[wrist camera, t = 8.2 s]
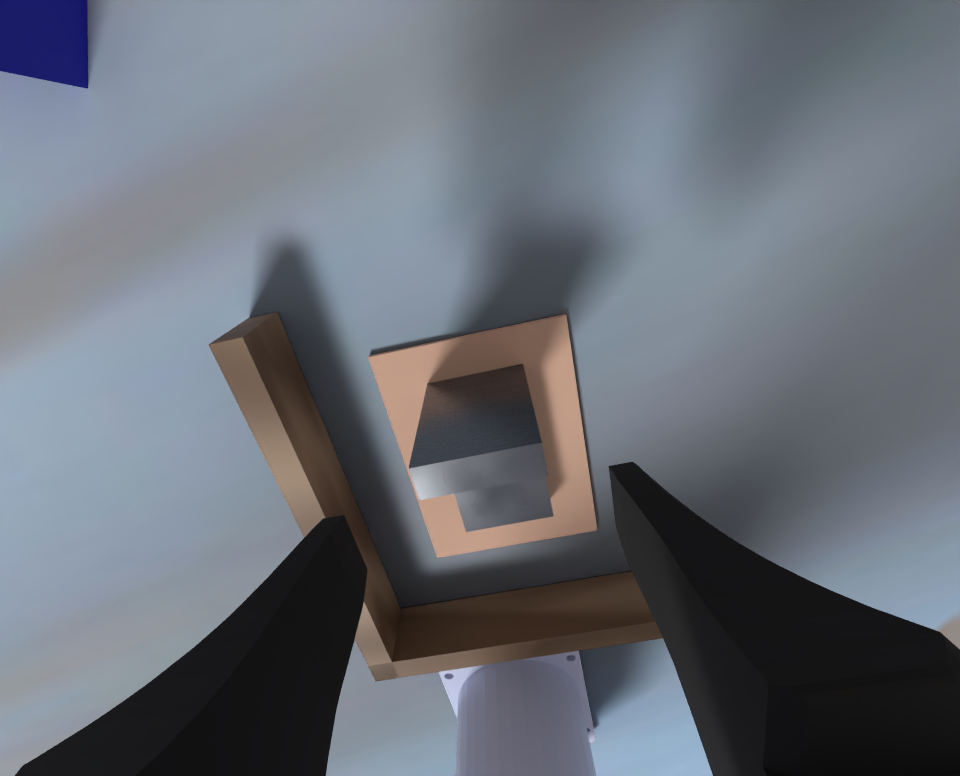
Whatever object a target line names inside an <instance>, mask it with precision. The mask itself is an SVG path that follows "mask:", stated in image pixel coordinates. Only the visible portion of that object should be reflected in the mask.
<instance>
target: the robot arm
mask: <svg viewBox="0 0 960 776" xmlns="http://www.w3.org/2000/svg"><path fill="white" fill-rule="evenodd" d="M609 472H610V480H611V488H612V496H613V505H614V513H615V521H616V528H617V531H618V534H619V537H620V540H621V543H622V546H623V549H624V552H625V555H626V558H627V561H628V563H629V566H630V568H631V570H632V572H633V574H634V577H635V579H636V581H637V583H638V585H639V587H640V590H641V592H642V594H643V596H644V598H645V600H646V603H647V605H648V607H649V609H650V611H651V613H652V615H653V618H654V620H655V622H656V624H657V626H658V628H659V631H660V633H661V635H662V637H663V639H664V641H665V643H666V646H667V648H668V651H669V653H670V655H671V658H672V660H673V663H674V665H675V668H676V671H677V674H678V677H679V679H680V682H681V685H682V688H683V690H684V693H685V696H686V699H687V702H688V704H689V707H690V710H691V713H692V716H693V719H694V722H695V724H696V727H697V730H698V733H699V736H700V739H701V742H702V745H703V747H704V750H705V753H706V756H707V759H708V762H709V765H710V768H711V771H712V774H713V776H960V649H958V648H957V647H956V646H955V645H954V644H953V643H952V642H950V641H949V640H948V639H947V638H946V637H945V636H944V635H943V634H942V633H940V632H938V631H935V630H933V629H930V628H927V627H924V626H922V625H919V624H916V623H913V622H910V621H908V620H905V619H902V618H899V617H897V616H894V615H891V614H888V613H885V612H883V611H880V610H877V609H874V608H872V607H869V606H867V605H864V604H862V603H859V602H857V601H855V600H852V599H850V598H847V597H845V596H843V595H840V594H838V593H835V592H833V591H831V590H829V589H826V588H824V587H822V586H820V585H818V584H815V583H813V582H811V581H809V580H807V579H805V578H803V577H801V576H799V575H797V574H795V573H793V572H791V571H789V570H787V569H785V568H782V567H780V566H778V565H776V564H775V563H773V562H771V561H769V560H767V559H765V558H763V557H762V556H760V555H758V554H756V553H755V552H753V551H751V550H750V549H748V548H746V547H744V546H743V545H741V544H739V543H738V542H736V541H735V540H733V539H731V538H730V537H728V536H727V535H725V534H724V533H722V532H721V531H719V530H718V529H716V528H715V527H713V526H712V525H711V524H709V523H708V522H706V521H705V520H703V519H702V518H701V517H699V516H698V515H697V514H695V513H694V512H693V511H691V510H690V509H689V508H687V507H686V506H685V505H684V504H682V503H681V502H680V501H678V500H677V499H676V498H675V497H673V496H672V495H671V494H670V493H668V492H667V491H666V490H665V489H664V488H662V487H661V486H660V485H659V484H658V483H657V482H655V481H654V480H653V479H652V478H651V477H650V476H649V475H648V474H646V473H645V472H644V471H643V470H642V469H641V468H640V467H639V466H638V465H636V464H635V463H633V462H629V463H623V464H618V465H612V466H609ZM367 571H368V569H367V567H366V564H365V562H364V560H363V557H362V555H361V553H360V550H359V548H358V546H357V544H356V541H355V539H354V537H353V534H352V532H351V530H350V527H349V525H348V523H347V520H346V518H345V516H344V515H340V516H334V517H329V518H323V519H322V520H321V521H320V522H319V523H318V524H317V525H316V526H315V527H314V528H313V529H312V530H311V531H310V532H309V533H308V534H307V535H306V537H305V538H304V539H303V540H302V541H301V542H300V543H299V544H298V545H297V546H296V547H295V549H294V550H293V551H292V552H291V553H290V554H289V555H288V556H287V557H286V558H285V560H284V561H283V562H282V563H281V564H280V565H279V566H278V567H277V568H276V569H275V570H274V571H273V573H272V574H271V575H270V576H269V577H268V578H267V579H266V580H265V581H264V582H263V583H262V584H261V585H260V586H259V587H258V588H257V589H256V590H255V591H254V592H253V593H252V594H251V595H250V596H249V597H248V598H247V599H246V600H245V601H244V602H243V603H242V604H241V605H240V606H239V607H238V608H237V609H236V610H235V611H234V612H233V613H232V614H231V615H230V616H229V617H228V618H227V619H226V620H225V621H223V622H222V623H221V624H220V625H219V626H218V627H217V628H216V629H215V630H213V631H212V632H211V633H210V634H209V635H208V636H207V637H205V638H204V639H203V640H202V641H201V642H200V643H199V644H197V645H196V646H195V647H194V648H193V649H191V650H190V651H189V652H188V653H186V654H185V655H184V656H183V657H181V658H180V659H179V660H178V661H176V662H175V663H174V664H172V665H171V666H170V667H169V668H167V669H166V670H165V671H164V672H162V673H161V674H160V675H158V676H157V677H156V678H155V679H153V680H152V681H151V682H149V683H148V684H147V685H145V686H144V687H143V688H141V689H140V690H138V691H137V692H136V693H134V694H133V695H132V696H130V697H129V698H127V699H126V700H125V701H123V702H122V703H120V704H119V705H117V706H116V707H114V708H113V709H111V710H110V711H109V712H107V713H106V714H104V715H103V716H101V717H100V718H98V719H97V720H95V721H94V722H92V723H91V724H89V725H88V726H86V727H85V728H83V729H81V730H80V731H78V732H77V733H75V734H73V735H72V736H70V737H69V738H67V739H65V740H64V741H62V742H61V743H59V744H57V745H56V746H54V747H53V748H51V749H49V750H48V751H46V752H45V753H43V754H41V755H40V756H38V757H37V758H35V759H33V760H32V761H30V762H28V763H27V764H25V765H23V766H22V767H21V768H20V770H19V771H18V772H17V774H16V775H15V776H326V769H327V762H328V755H329V749H330V743H331V738H332V732H333V726H334V720H335V714H336V709H337V705H338V700H339V696H340V691H341V688H342V684H343V680H344V677H345V673H346V669H347V665H348V662H349V658H350V654H351V651H352V647H353V643H354V639H355V636H356V632H357V628H358V624H359V620H360V616H361V612H362V608H363V603H364V596H365V589H366V580H367ZM439 674H440V677H441V679H442V682H443V684H444V687H445V689H446V692H447V694H448V697H449V699H450V702H451V704H452V707H453V709H454V712H455V714H456V717H457V739H456V769H455V776H596V772H595V767H594V762H593V757H592V752H591V747H590V743H592V742H594V740H595V733H594V728H593V723H592V717H591V712H590V707H589V702H588V697H587V692H586V686H585V681H584V676H583V671H582V666H581V661H580V655H579V651H574V652H567V653H561V654H554V655H547V656H541V657H534V658H527V659H521V660H514V661H508V662H501V663H494V664H488V665H481V666H474V667H468V668H461V669H454V670H448V671H441V672H439Z"/></svg>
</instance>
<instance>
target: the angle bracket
mask: <svg viewBox="0 0 960 776" xmlns="http://www.w3.org/2000/svg"><path fill="white" fill-rule="evenodd" d="M408 469H409V472H410V475H411V477H412V480H413V483H414V486H415V489H416V492H417V495H418V497H419V500H424V499H429V498H434V497H440V496H445V495H450V494H455V498H456V501H457V504H458V507H459V511H460V514H461V517H462V521H463V524H464V527H465V530H466V532H470V531H475V530H481V529H486V528H492V527H497V526H503V525H509V524H514V523H520V522H525V521H531V520H536V519H542V518H548V517H553V516H554V515H553V510H552V505H551V500H550V495H549V490H548V485H547V480H546V476H548V471H547V466H546V461H545V455H544V450H543V445H542V441H541V436H540V432H539V428H538V424H537V420H536V416H535V412H534V407H533V403H532V399H531V395H530V391H529V387H528V383H527V378H526V374H525V370H524V366H523V364H519V365H514V366H509V367H504V368H499V369H495V370H490V371H485V372H480V373H476V374H471V375H466V376H461V377H456V378H452V379H447V380H442V381H437V382H432V383H428V384H427V387H426V392H425V396H424V401H423V405H422V410H421V414H420V419H419V423H418V428H417V432H416V437H415V441H414V446H413V450H412V455H411V459H410V464H409V468H408Z"/></svg>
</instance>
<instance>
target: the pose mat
mask: <svg viewBox="0 0 960 776" xmlns="http://www.w3.org/2000/svg"><path fill="white" fill-rule="evenodd" d="M368 358H369V361H370V364H371V367H372V370H373V373H374V376H375V378H376V381H377V384H378V387H379V390H380V393H381V396H382V399H383V402H384V404H385V407H386V410H387V413H388V416H389V419H390V422H391V425H392V428H393V431H394V433H395V436H396V439H397V442H398V445H399V448H400V451H401V454H402V457H403V460H404V462H405V465H406V468H407V471H408V474H409V477H410V480H411V483H412V486H413V489H414V491H415V494H416V497H417V500H418V503H419V506H420V509H421V512H422V515H423V518H424V520H425V523H426V526H427V529H428V532H429V535H430V538H431V541H432V544H433V547H434V549H435V552H436V555H437V558H440V557H445V556H451V555H457V554H463V553H469V552H475V551H480V550H486V549H492V548H498V547H504V546H509V545H515V544H521V543H527V542H533V541H539V540H544V539H550V538H556V537H562V536H568V535H573V534H579V533H585V532H591V531H597V524H596V517H595V511H594V504H593V497H592V490H591V483H590V476H589V469H588V462H587V455H586V448H585V441H584V434H583V427H582V420H581V413H580V406H579V399H578V392H577V385H576V378H575V372H574V365H573V358H572V351H571V344H570V337H569V330H568V323H567V316H566V314H563V315H558V316H553V317H549V318H544V319H539V320H534V321H530V322H525V323H520V324H516V325H511V326H506V327H501V328H497V329H492V330H487V331H483V332H478V333H473V334H468V335H464V336H459V337H454V338H449V339H445V340H440V341H435V342H431V343H426V344H421V345H416V346H412V347H407V348H402V349H398V350H393V351H388V352H383V353H379V354H374V355H369V357H368ZM519 364H523V366H524V370H525V374H526V378H527V383H528V387H529V391H530V395H531V399H532V403H533V407H534V412H535V416H536V420H537V424H538V428H539V432H540V436H541V441H542V445H543V450H544V455H545V461H546V466H547V471H548V476H546V480H547V485H548V490H549V495H550V500H551V505H552V510H553V515H554V516H553V517H548V518H542V519H536V520H531V521H525V522H520V523H514V524H509V525H503V526H497V527H492V528H486V529H481V530H475V531H470V532H466V530H465V527H464V524H463V521H462V517H461V514H460V511H459V507H458V504H457V501H456V498H455V494H450V495H445V496H440V497H434V498H429V499H424V500H419V497H418V495H417V492H416V489H415V486H414V483H413V480H412V477H411V475H410V472H409V469H408V468H409V464H410V459H411V455H412V450H413V446H414V441H415V437H416V432H417V428H418V423H419V419H420V414H421V410H422V405H423V401H424V396H425V392H426V387H427V384H428V383H432V382H437V381H442V380H447V379H452V378H456V377H461V376H466V375H471V374H476V373H480V372H485V371H490V370H495V369H499V368H504V367H509V366H514V365H519Z"/></svg>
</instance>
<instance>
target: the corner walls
mask: <svg viewBox="0 0 960 776" xmlns="http://www.w3.org/2000/svg"><path fill="white" fill-rule="evenodd" d="M209 347H210V349H211V351H212V353H213V355H214V357H215V359H216V361H217V363H218V365H219V367H220V369H221V371H222V373H223V375H224V377H225V379H226V381H227V383H228V385H229V387H230V389H231V391H232V393H233V395H234V397H235V399H236V401H237V403H238V405H239V407H240V409H241V411H242V413H243V415H244V417H245V419H246V421H247V423H248V425H249V427H250V429H251V431H252V433H253V435H254V437H255V439H256V441H257V443H258V445H259V447H260V449H261V451H262V453H263V455H264V457H265V459H266V462H267V464H268V466H269V468H270V470H271V472H272V474H273V476H274V478H275V480H276V482H277V484H278V486H279V488H280V490H281V492H282V494H283V496H284V498H285V500H286V502H287V504H288V506H289V508H290V510H291V512H292V514H293V516H294V518H295V520H296V522H297V524H298V526H299V528H300V530H301V532H302V534H303V536H304V538H305V537H306V535H307V534H308V533H309V532H310V531H311V530H312V529H313V528H314V527H315V526H316V525H317V524H318V523H319V522H320V521H321V520H322V519H323V518H329V517H334V516H340V515H344V516H345V518H346V520H347V523H348V525H349V527H350V530H351V532H352V534H353V537H354V539H355V541H356V544H357V546H358V548H359V550H360V553H361V555H362V557H363V560H364V562H365V564H366V567H367V569H368V571H367V580H366V589H365V596H364V603H363V608H362V612H361V616H360V620H359V624H358V628H357V632H356V636H355V641H356V643H357V645H358V647H359V649H360V651H361V653H362V655H363V657H364V659H365V661H366V663H367V665H368V667H369V669H370V671H371V673H372V675H373V677H374V679H375V681H381V680H388V679H395V678H401V677H408V676H415V675H421V674H428V673H435V672H441V671H448V670H454V669H461V668H468V667H474V666H481V665H488V664H494V663H501V662H508V661H514V660H521V659H527V658H534V657H541V656H547V655H554V654H561V653H567V652H574V651H581V650H587V649H594V648H600V647H607V646H614V645H620V644H627V643H634V642H640V641H647V640H654V639H660V638H663V637H662V635H661V633H660V631H659V628H658V626H657V624H656V622H655V620H654V618H653V615H652V613H651V611H650V609H649V607H648V605H647V603H646V600H645V598H644V596H643V594H642V592H641V590H640V587H639V585H638V583H637V581H636V579H635V577H634V574H633V572H632V571H629V572H623V573H617V574H611V575H605V576H599V577H593V578H587V579H580V580H574V581H568V582H562V583H556V584H550V585H544V586H538V587H532V588H525V589H519V590H513V591H507V592H501V593H495V594H489V595H483V596H476V597H470V598H464V599H458V600H452V601H446V602H440V603H434V604H428V605H421V606H415V607H409V608H403V609H401V608H400V606H399V603H398V601H397V598H396V596H395V594H394V591H393V589H392V586H391V584H390V582H389V579H388V577H387V574H386V572H385V569H384V567H383V565H382V562H381V560H380V557H379V555H378V553H377V550H376V548H375V545H374V543H373V541H372V538H371V536H370V533H369V531H368V529H367V526H366V524H365V521H364V519H363V517H362V514H361V512H360V509H359V507H358V505H357V502H356V500H355V497H354V495H353V493H352V490H351V488H350V485H349V483H348V480H347V478H346V476H345V473H344V471H343V468H342V466H341V464H340V461H339V459H338V456H337V454H336V452H335V449H334V447H333V444H332V442H331V440H330V437H329V435H328V432H327V430H326V428H325V425H324V423H323V420H322V418H321V416H320V413H319V411H318V408H317V406H316V404H315V401H314V399H313V396H312V394H311V392H310V389H309V387H308V384H307V382H306V379H305V377H304V375H303V372H302V370H301V367H300V365H299V363H298V360H297V358H296V355H295V353H294V351H293V348H292V346H291V343H290V341H289V339H288V336H287V334H286V331H285V329H284V327H283V324H282V322H281V319H280V317H279V315H278V312H274V313H270V314H265V315H261V316H256V317H252V318H248V319H247V320H245V321H244V322H242V323H241V324H239V325H238V326H236V327H235V328H233V329H232V330H230V331H229V332H227V333H226V334H224V335H223V336H221V337H220V338H218V339H217V340H215V341H214V342H212V343H211V344H209Z"/></svg>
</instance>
